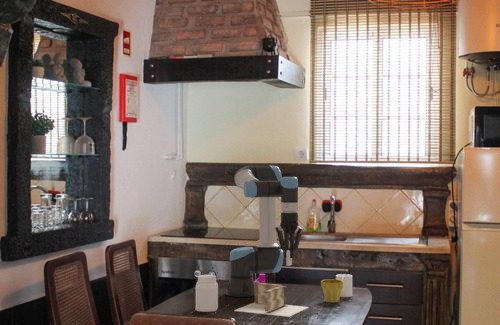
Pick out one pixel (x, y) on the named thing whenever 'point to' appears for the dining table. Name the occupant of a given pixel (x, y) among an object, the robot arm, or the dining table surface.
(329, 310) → the dining table surface
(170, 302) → the dining table surface
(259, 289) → the fixed fence section
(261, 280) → the toy block
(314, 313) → the dining table surface
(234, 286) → the robot arm
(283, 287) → the wooden board
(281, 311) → the card
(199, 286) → the jar
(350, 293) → the cup
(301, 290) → the dining table surface
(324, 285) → the plant pot
